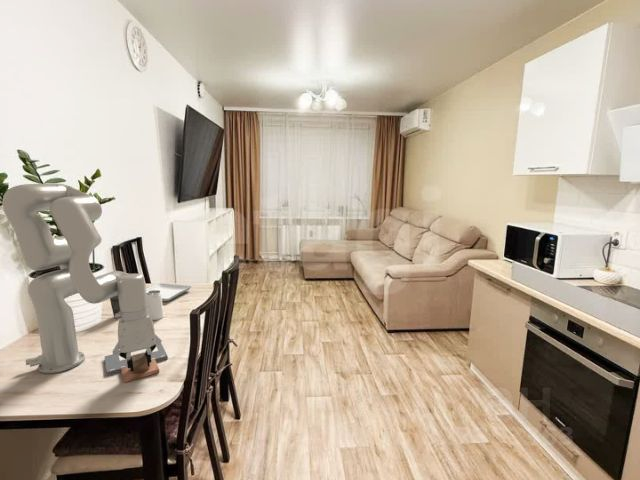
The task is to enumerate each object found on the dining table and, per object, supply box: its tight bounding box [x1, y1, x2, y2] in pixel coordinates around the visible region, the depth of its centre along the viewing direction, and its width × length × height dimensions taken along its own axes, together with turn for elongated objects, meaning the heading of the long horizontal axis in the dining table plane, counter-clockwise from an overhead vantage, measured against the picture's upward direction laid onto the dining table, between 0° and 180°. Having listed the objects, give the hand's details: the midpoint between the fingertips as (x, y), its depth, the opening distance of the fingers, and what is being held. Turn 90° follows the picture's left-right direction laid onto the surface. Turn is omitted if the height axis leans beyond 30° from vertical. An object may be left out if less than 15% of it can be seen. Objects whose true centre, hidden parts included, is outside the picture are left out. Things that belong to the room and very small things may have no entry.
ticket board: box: [104, 342, 169, 377], centre depth 120 cm, size 18×12×1 cm, turn 125°
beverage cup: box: [109, 295, 120, 319], centre depth 155 cm, size 7×7×20 cm
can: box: [146, 290, 164, 321], centre depth 154 cm, size 6×6×12 cm
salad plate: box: [146, 282, 192, 302], centre depth 184 cm, size 21×21×3 cm
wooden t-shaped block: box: [121, 352, 160, 383], centre depth 111 cm, size 10×7×5 cm
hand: (139, 366), depth 111 cm, fingers closed on wooden t-shaped block, 4 cm apart
